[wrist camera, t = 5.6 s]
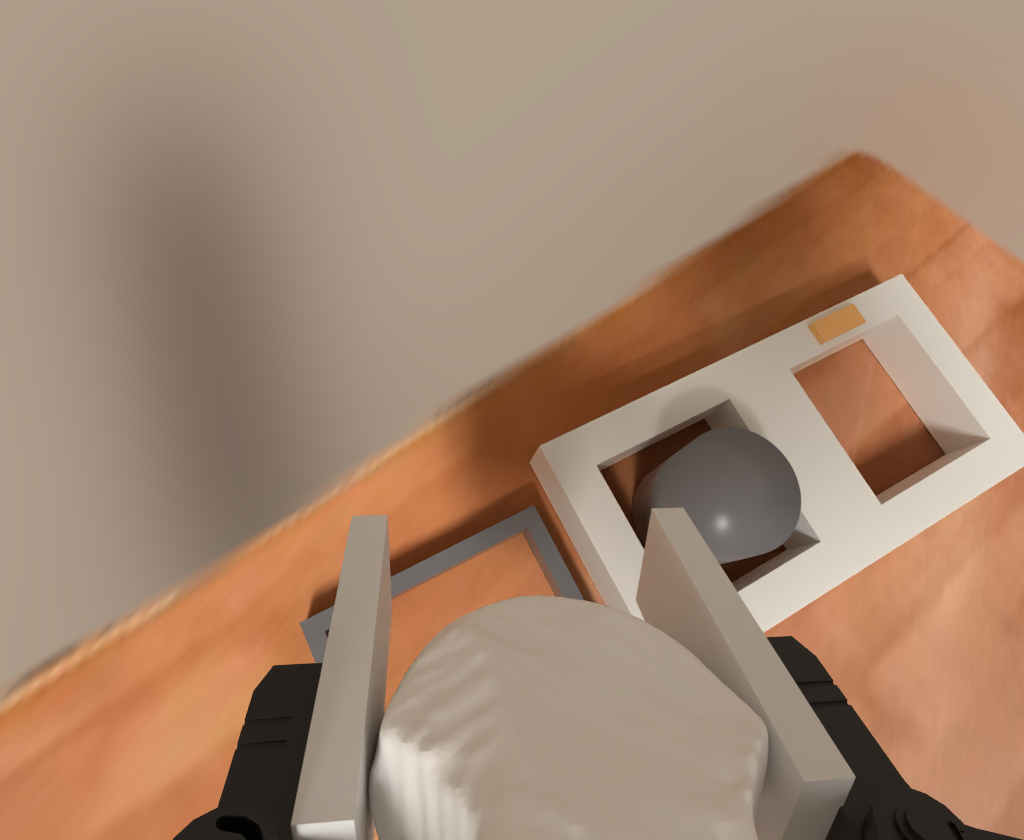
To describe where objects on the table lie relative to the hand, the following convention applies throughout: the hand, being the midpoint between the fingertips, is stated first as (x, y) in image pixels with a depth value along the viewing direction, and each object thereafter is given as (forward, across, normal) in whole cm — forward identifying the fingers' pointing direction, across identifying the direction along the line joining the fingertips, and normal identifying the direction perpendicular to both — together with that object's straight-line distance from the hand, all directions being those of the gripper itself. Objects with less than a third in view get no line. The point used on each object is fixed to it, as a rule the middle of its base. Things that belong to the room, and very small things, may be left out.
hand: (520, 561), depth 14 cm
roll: (0, 0, -6) cm, 6 cm away
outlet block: (+16, +16, -7) cm, 24 cm away
